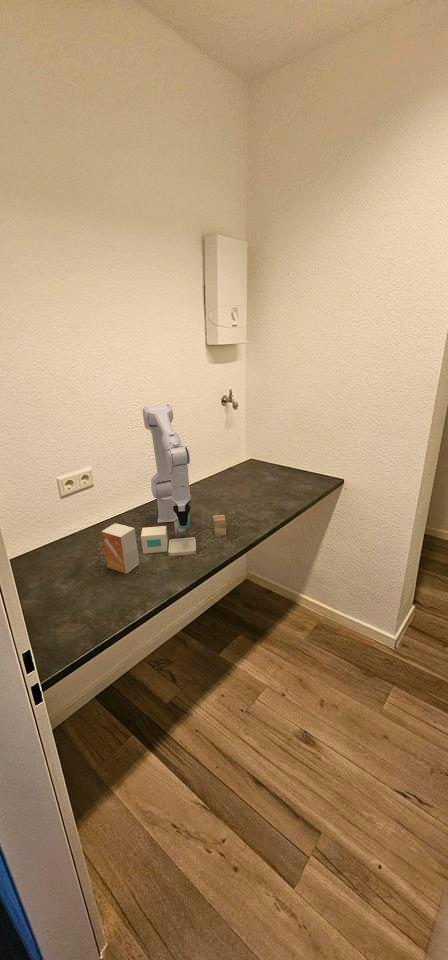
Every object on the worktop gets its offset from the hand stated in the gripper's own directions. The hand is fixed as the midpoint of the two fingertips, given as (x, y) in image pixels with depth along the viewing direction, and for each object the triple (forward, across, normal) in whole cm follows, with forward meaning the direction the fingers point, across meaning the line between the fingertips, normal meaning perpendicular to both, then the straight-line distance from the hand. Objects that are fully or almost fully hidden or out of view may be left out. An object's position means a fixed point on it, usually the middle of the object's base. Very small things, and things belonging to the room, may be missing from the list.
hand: (183, 522), depth 131 cm
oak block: (+9, -7, +12) cm, 17 cm away
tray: (+9, +1, -1) cm, 9 cm away
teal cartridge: (+2, 0, 0) cm, 2 cm away
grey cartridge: (+9, -7, -2) cm, 12 cm away
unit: (+9, 0, -10) cm, 14 cm away
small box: (+9, +9, -20) cm, 23 cm away
